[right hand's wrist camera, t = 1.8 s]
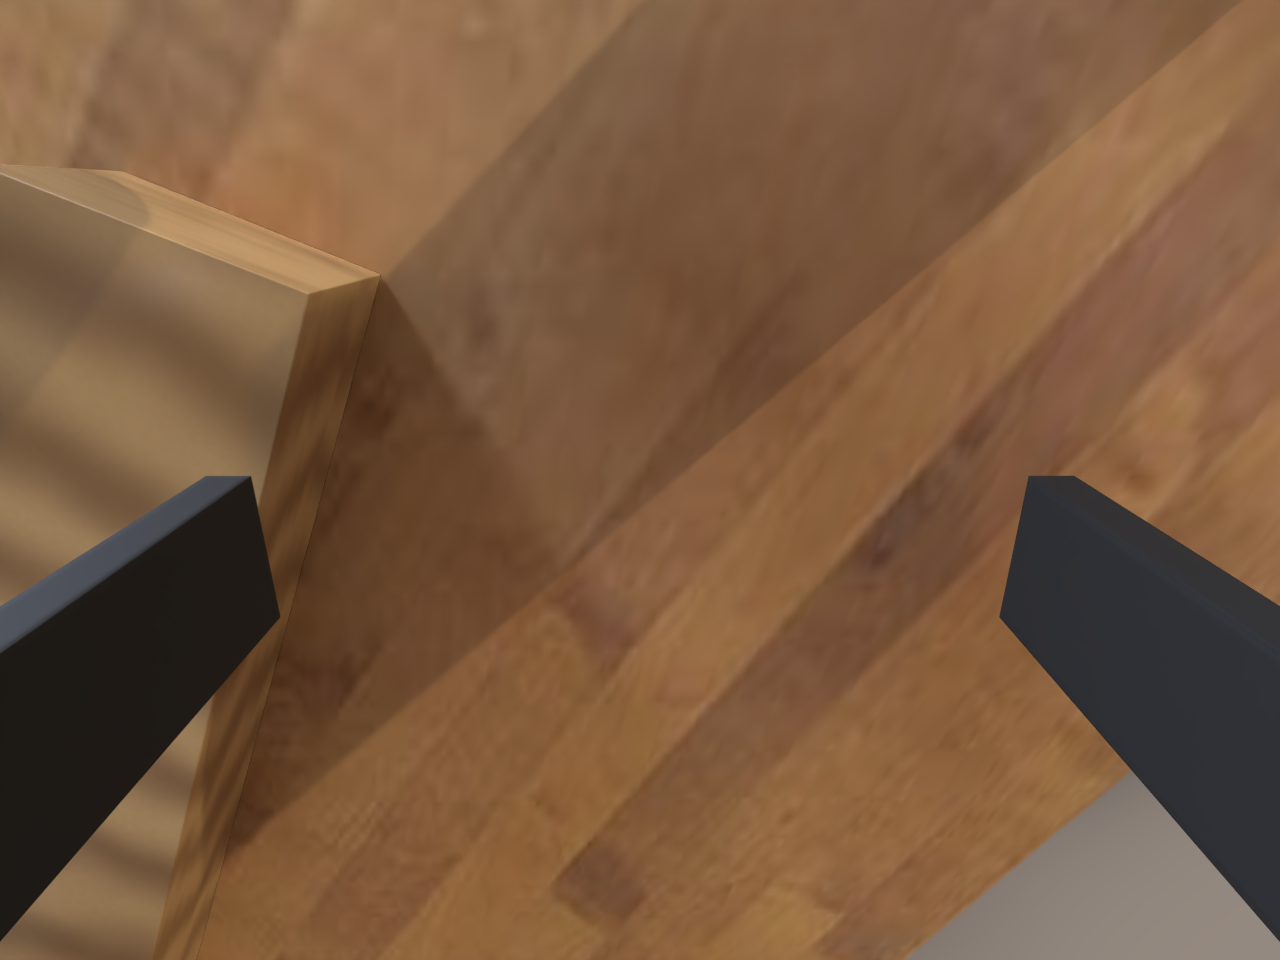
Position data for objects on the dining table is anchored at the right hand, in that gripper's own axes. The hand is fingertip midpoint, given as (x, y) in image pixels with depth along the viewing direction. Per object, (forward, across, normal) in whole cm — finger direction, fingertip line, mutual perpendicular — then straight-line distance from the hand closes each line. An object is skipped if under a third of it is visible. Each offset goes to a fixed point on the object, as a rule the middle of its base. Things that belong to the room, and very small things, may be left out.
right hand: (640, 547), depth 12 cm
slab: (+18, -27, -25) cm, 41 cm away
